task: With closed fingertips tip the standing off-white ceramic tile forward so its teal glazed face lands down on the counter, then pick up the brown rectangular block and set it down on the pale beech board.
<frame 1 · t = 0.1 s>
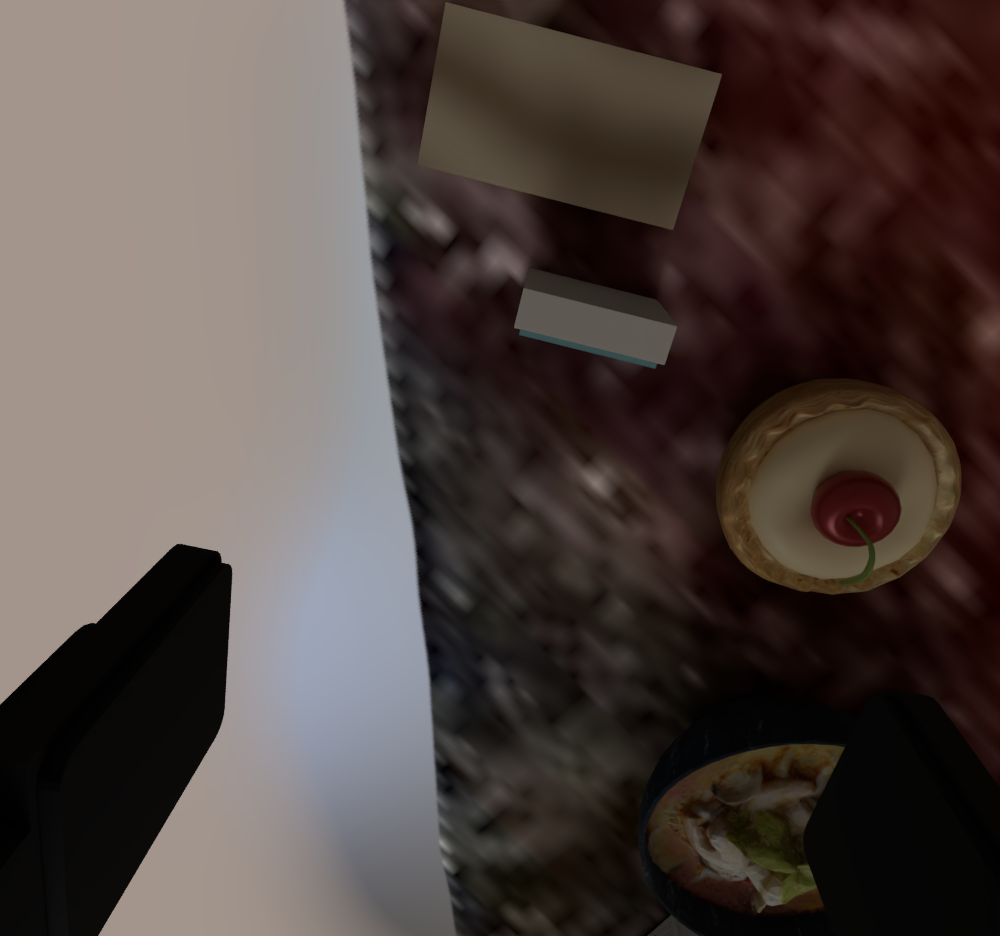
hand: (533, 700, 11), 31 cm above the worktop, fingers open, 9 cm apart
tile: (588, 300, 39), on the worktop
bowl: (752, 741, 50), on the worktop
pastry: (811, 464, 42), on the worktop
board: (564, 122, 36), on the worktop
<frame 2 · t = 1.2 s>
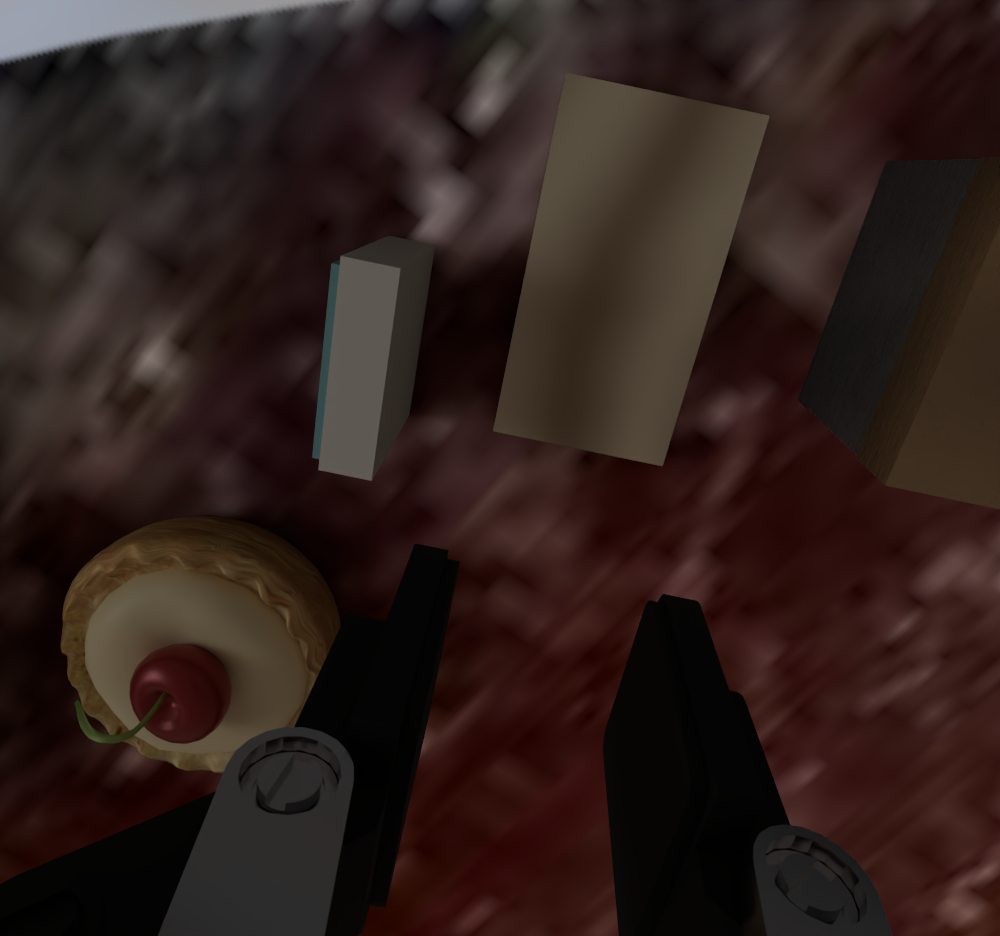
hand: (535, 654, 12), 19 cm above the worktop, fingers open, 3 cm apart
brown rectangular block: (883, 297, 28), on the worktop
tile: (399, 329, 29), on the worktop
pastry: (237, 604, 35), on the worktop
board: (616, 283, 28), on the worktop
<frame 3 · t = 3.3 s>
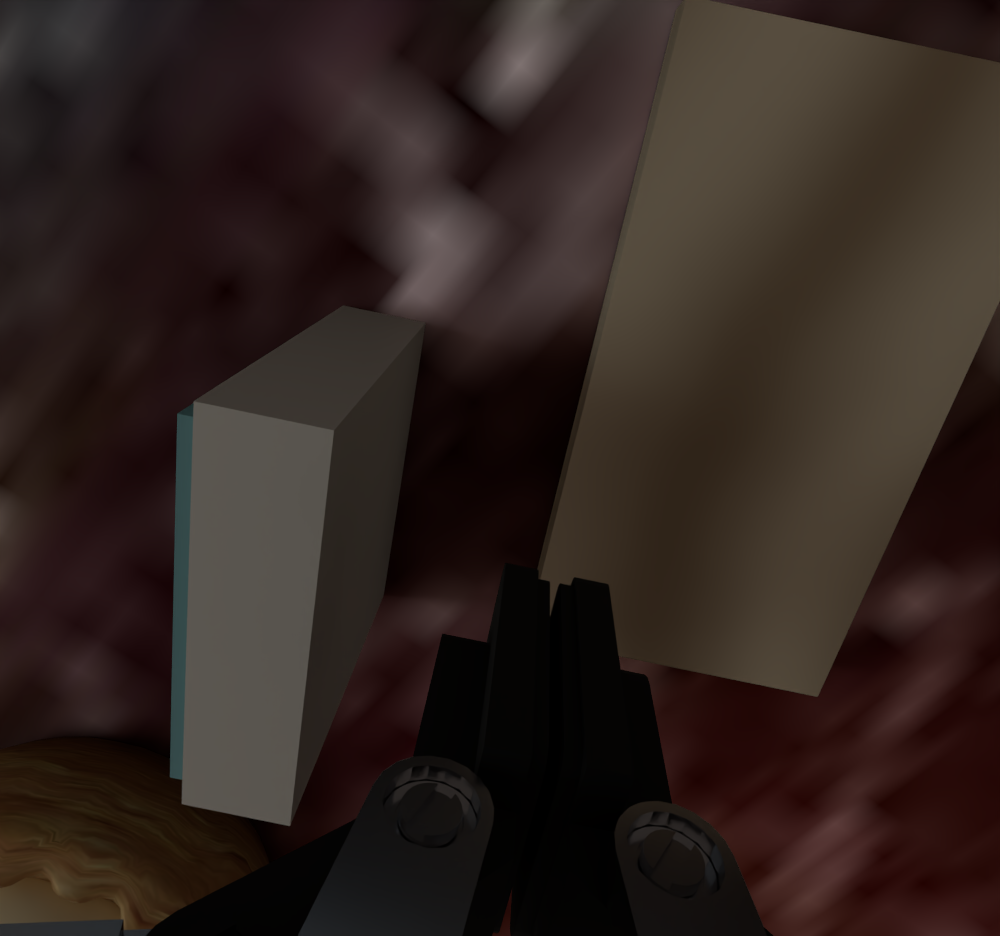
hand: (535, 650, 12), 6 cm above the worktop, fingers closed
tile: (365, 461, 17), on the worktop
pastry: (126, 849, 23), on the worktop
board: (748, 390, 16), on the worktop
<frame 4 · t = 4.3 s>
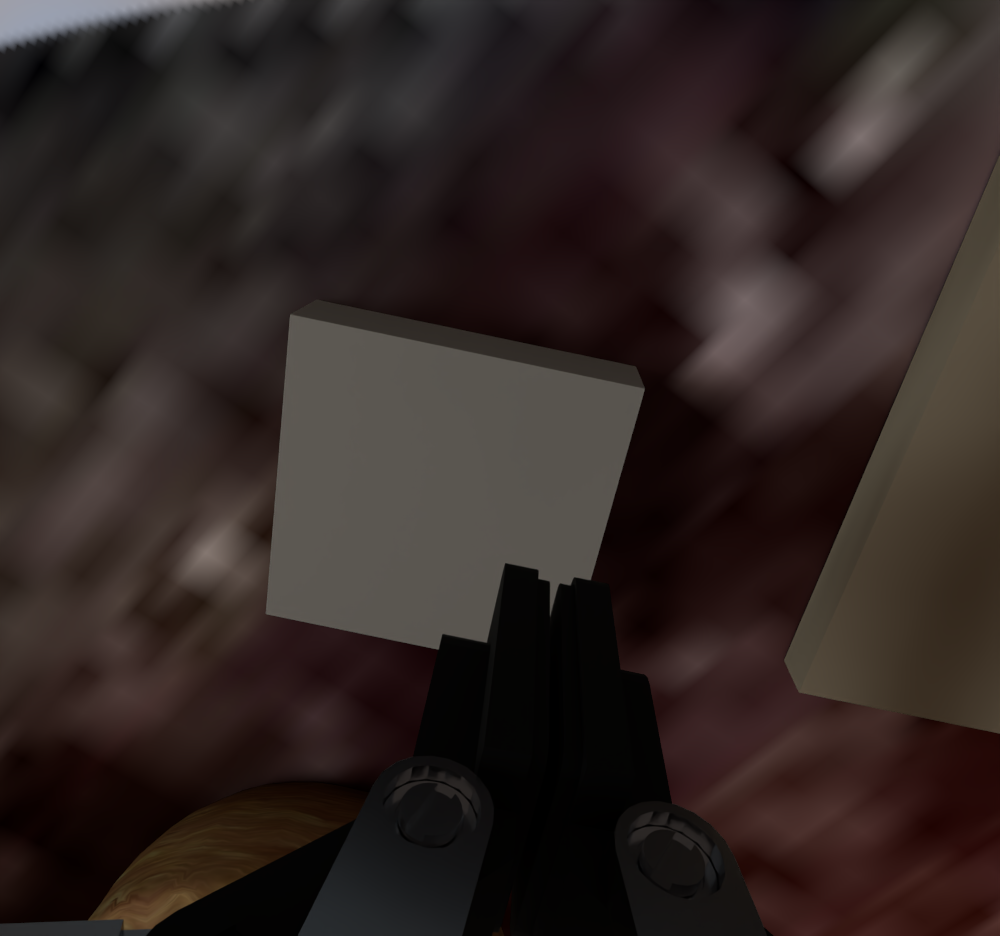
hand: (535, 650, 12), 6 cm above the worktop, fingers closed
tile: (598, 525, 16), point 1 cm above the worktop, tilted 90°
pastry: (331, 889, 23), on the worktop
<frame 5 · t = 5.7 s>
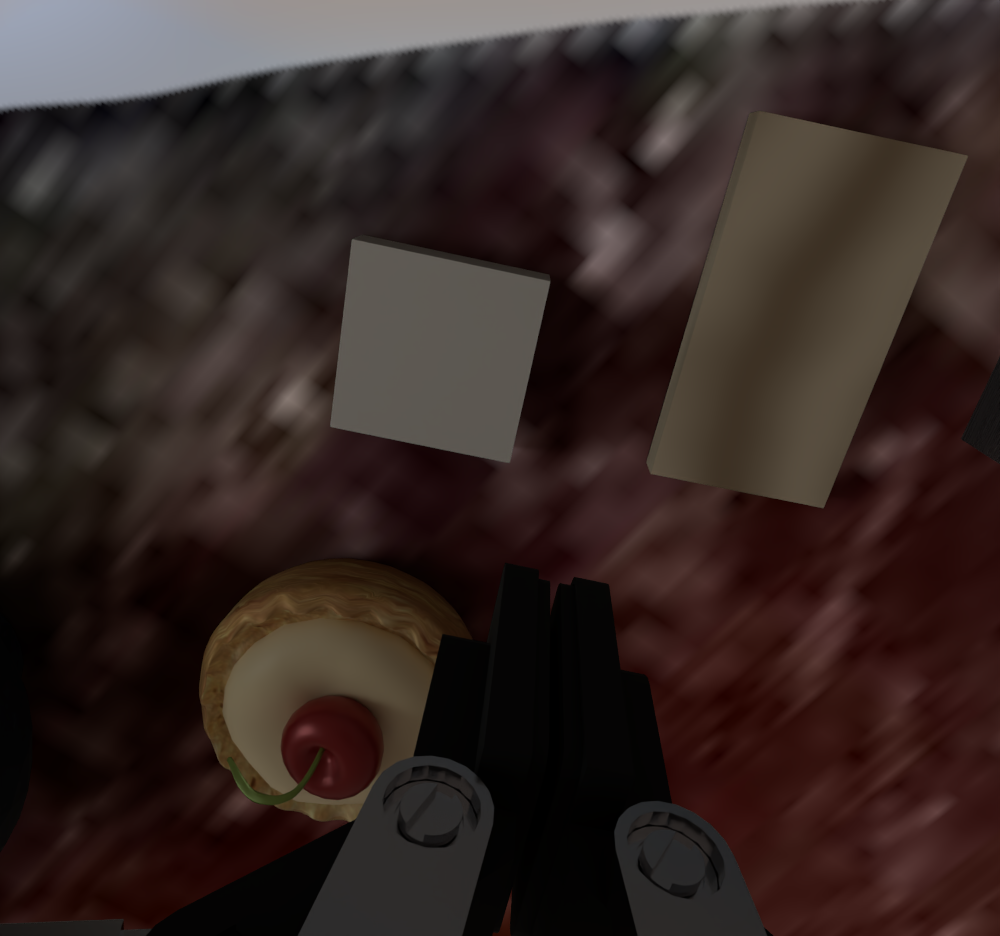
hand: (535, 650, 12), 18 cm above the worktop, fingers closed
tile: (529, 370, 27), point 1 cm above the worktop, tilted 90°
pastry: (362, 646, 34), on the worktop
board: (784, 322, 27), on the worktop
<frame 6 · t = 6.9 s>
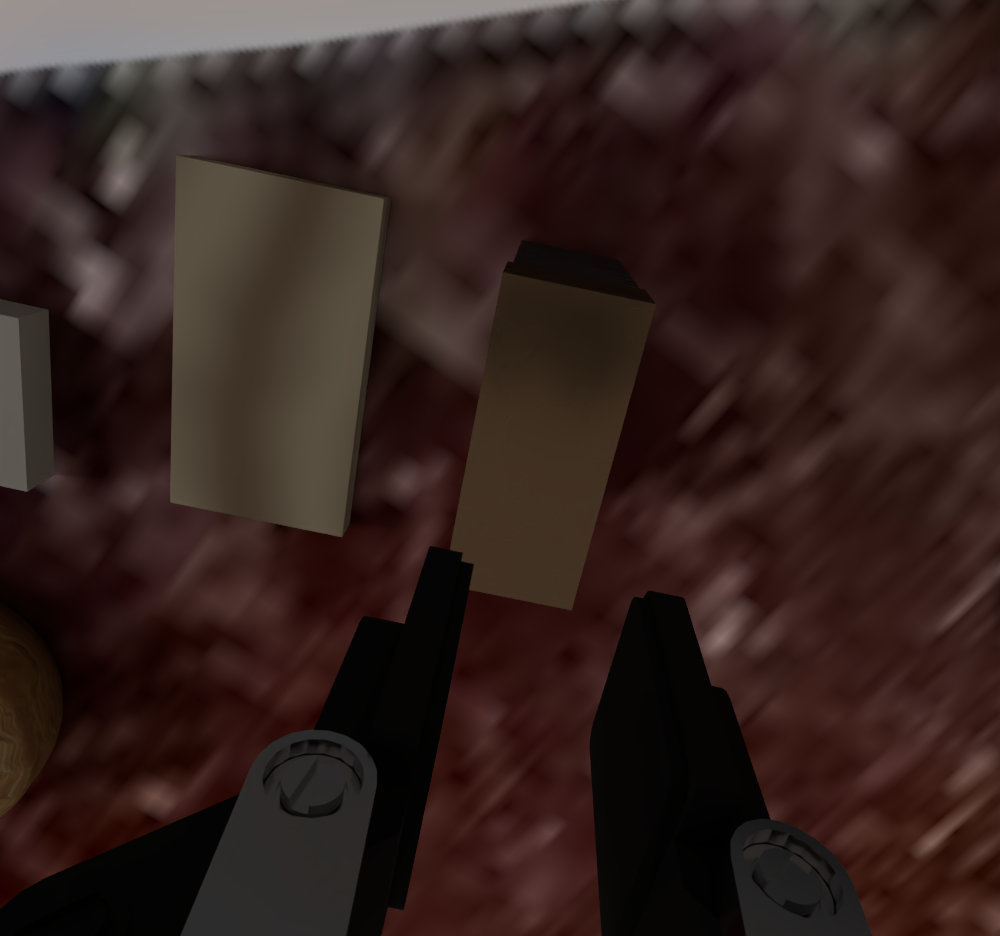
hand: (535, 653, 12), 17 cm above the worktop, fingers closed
brown rectangular block: (543, 371, 27), on the worktop
tile: (38, 402, 28), point 1 cm above the worktop, tilted 90°
board: (278, 356, 28), on the worktop
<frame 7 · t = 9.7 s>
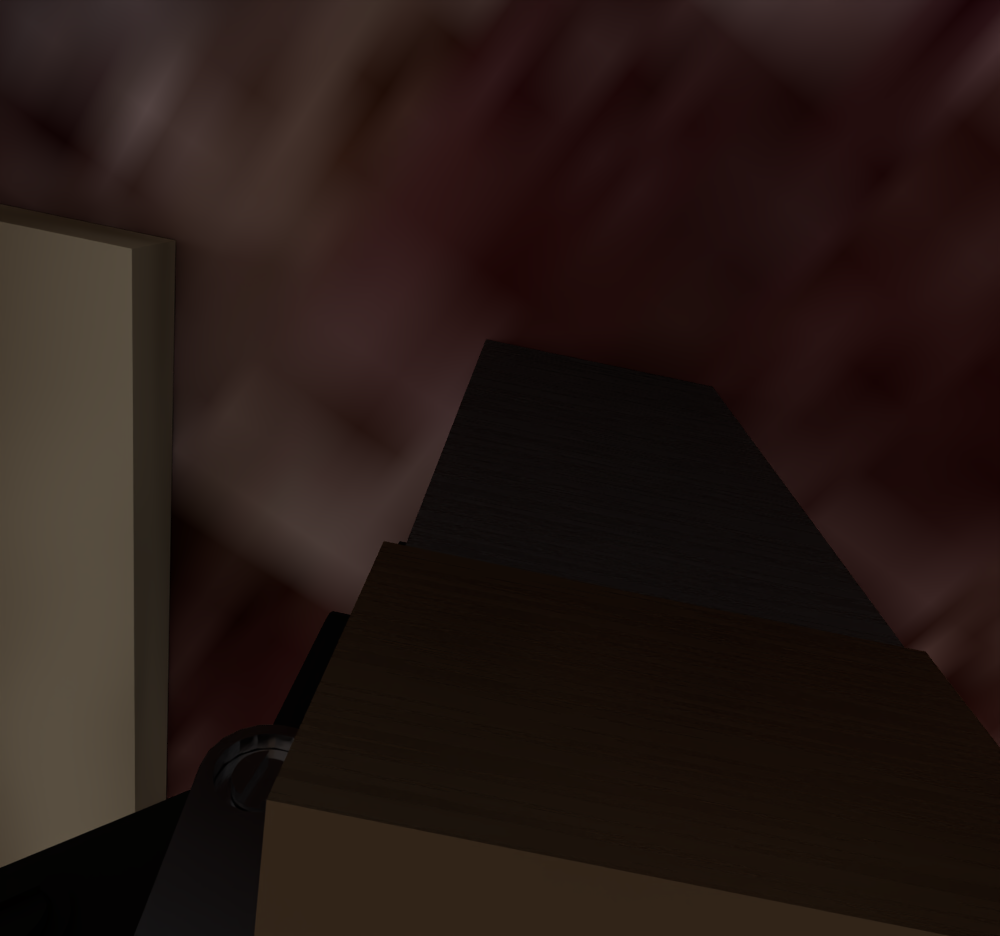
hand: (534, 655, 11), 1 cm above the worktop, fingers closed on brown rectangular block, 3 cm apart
brown rectangular block: (536, 609, 13), on the worktop, touching gripper
when the fingers open (4 cm above the worktop, at t = 14.7 s): brown rectangular block stays where it is, resting on board.
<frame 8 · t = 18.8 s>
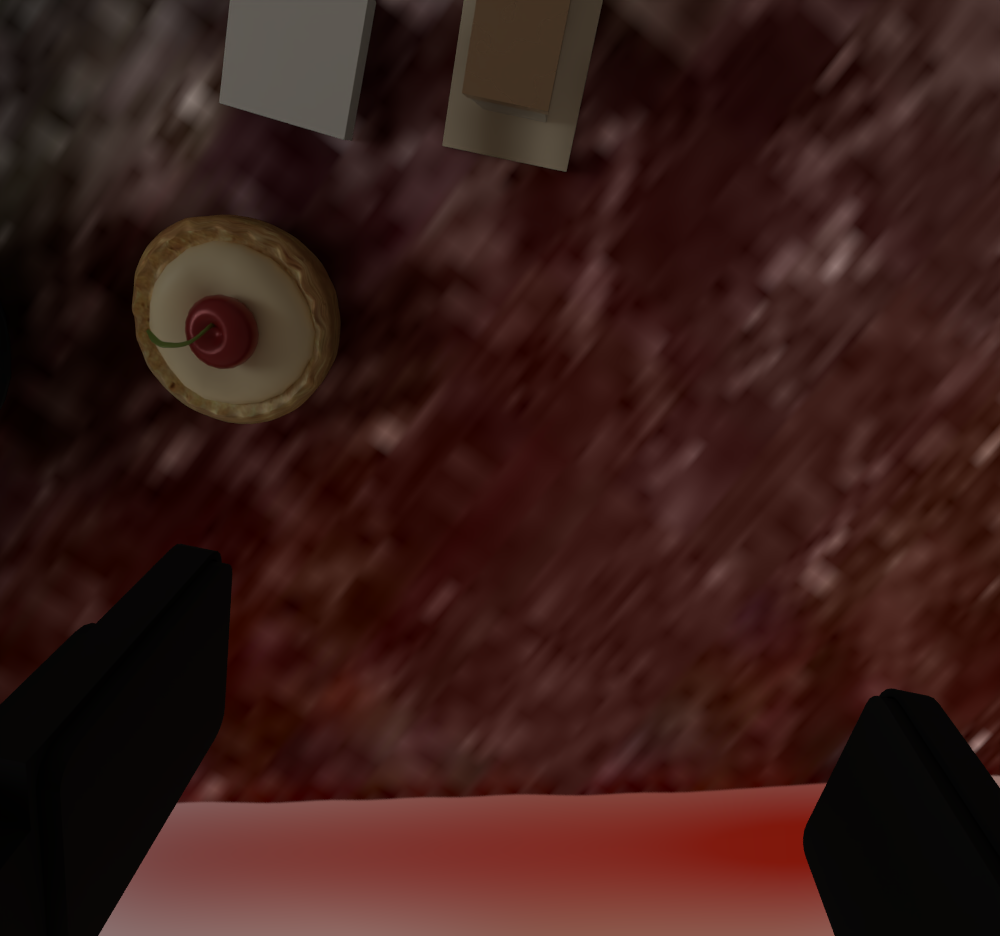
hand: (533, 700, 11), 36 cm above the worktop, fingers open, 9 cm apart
brown rectangular block: (532, 21, 38), point 1 cm above the worktop, touching board
tile: (360, 72, 39), point 1 cm above the worktop, tilted 90°
pastry: (260, 311, 46), on the worktop
board: (529, 29, 39), on the worktop
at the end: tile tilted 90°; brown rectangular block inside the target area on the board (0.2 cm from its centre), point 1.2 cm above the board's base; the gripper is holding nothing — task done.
